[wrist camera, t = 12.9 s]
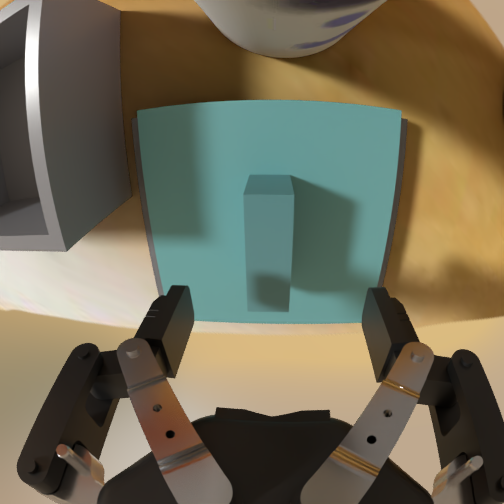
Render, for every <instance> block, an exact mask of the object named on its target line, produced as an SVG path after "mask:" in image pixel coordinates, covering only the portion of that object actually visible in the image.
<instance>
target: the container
mask: <svg viewBox="0 0 504 504" xmlns="http://www.w3.org/2000/svg"><path fill="white" fill-rule="evenodd" d="M385 1H387V0H195V2H196V3H197V4H198V5H199V6H200V8H201V9H202V10H203V11H204V12H205V13H206V15H207V16H208V17H209V18H210V20H211V21H212V22H213V23H214V24H215V26H216V27H217V28H218V29H219V31H220V32H221V33H222V34H223V35H224V36H225V37H227V38H228V39H229V40H230V41H232V42H233V43H235V44H236V45H238V46H240V47H242V48H244V49H246V50H248V51H251V52H254V53H257V54H260V55H264V56H269V57H277V58H295V57H303V56H308V55H311V54H315V53H318V52H320V51H323V50H325V49H327V48H329V47H330V46H332V45H334V44H335V43H336V42H338V41H339V40H340V39H341V38H342V37H343V36H344V35H346V34H347V33H348V32H349V31H350V30H351V29H353V28H354V27H355V26H356V25H357V24H358V23H360V22H361V21H362V20H363V19H364V18H366V17H367V16H368V15H369V14H370V13H372V12H373V11H374V10H375V9H377V8H378V7H379V6H380V5H382V4H383V3H384V2H385Z"/></svg>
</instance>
